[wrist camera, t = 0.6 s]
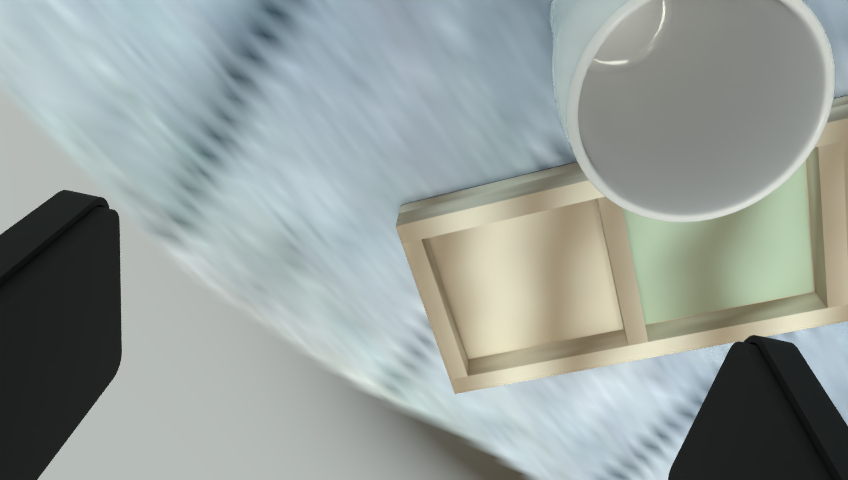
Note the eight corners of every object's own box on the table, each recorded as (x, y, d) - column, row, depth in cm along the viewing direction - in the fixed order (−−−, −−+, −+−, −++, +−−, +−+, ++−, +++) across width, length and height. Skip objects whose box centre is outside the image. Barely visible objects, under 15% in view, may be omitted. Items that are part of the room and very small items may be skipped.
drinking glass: (636, 108, 33) (734, 263, 20) (506, 48, 32) (518, 168, 19) (720, -32, 30) (903, 40, 17) (579, -102, 29) (654, -85, 16)
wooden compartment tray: (1054, 44, 30) (1099, 57, 28) (1036, 253, 35) (1073, 279, 33) (401, 205, 36) (395, 226, 34) (456, 365, 41) (454, 393, 39)
